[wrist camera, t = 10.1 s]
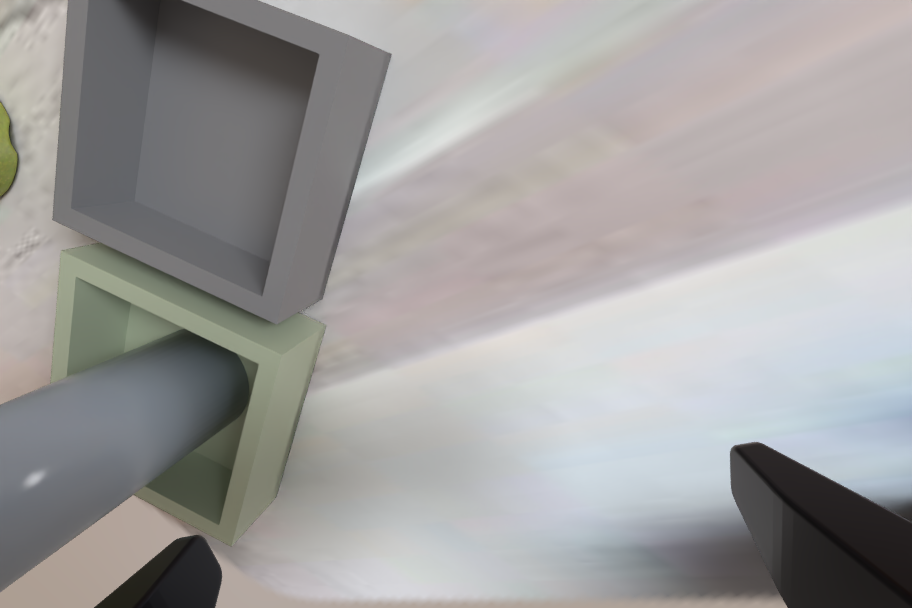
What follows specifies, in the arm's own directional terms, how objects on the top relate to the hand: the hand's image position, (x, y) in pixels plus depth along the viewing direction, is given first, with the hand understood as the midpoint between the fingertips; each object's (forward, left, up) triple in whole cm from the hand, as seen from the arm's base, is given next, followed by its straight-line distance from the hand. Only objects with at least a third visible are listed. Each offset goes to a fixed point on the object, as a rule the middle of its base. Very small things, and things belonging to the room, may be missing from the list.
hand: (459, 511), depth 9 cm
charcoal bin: (+13, -1, -12) cm, 18 cm away
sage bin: (+13, +10, -12) cm, 20 cm away
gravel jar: (+13, +10, -12) cm, 20 cm away
